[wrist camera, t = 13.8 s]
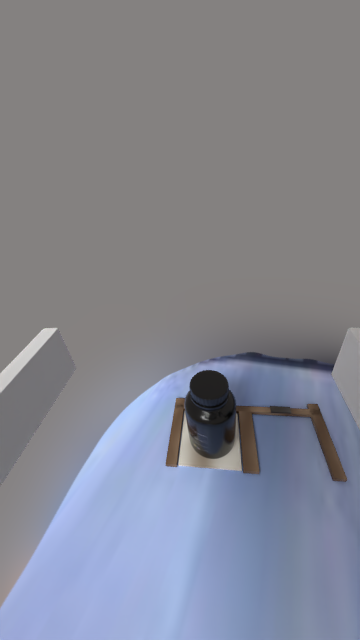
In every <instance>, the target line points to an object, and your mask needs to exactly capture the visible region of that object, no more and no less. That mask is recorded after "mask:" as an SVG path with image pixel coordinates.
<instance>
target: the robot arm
mask: <svg viewBox="0 0 360 640" xmlns="http://www.w3.org/2000/svg"><path fill="white" fill-rule="evenodd" d="M75 369H76V366H75V364H74V362H73V360H72V357H71V355H70V353H69V351H68V349H67V346H66V344H65V342H64V340H63V338H62V336H61V334H60V331H59V329H58V328H44V329H43V330H42V331H41V332H40V333H39V334H38V335H37V336H36V337H35V338H34V339H33V340H32V341H31V342H30V343H29V344H28V345H27V346H26V348H24V350H23V351H22V352H21V353H20V354H19V355H18V356H17V357H16V358H15V359H14V360H13V361H12V362H11V363H10V364H9V365H8V366H7V367H6V368H5V369H4V370H3V371H2V372H1V373H0V486H1V485H2V483H3V482H4V480H5V478H6V477H7V475H8V474H9V472H10V471H11V469H12V468H13V466H14V464H15V463H16V461H17V459H18V458H19V457H20V455H21V454H22V452H23V450H24V449H25V447H26V446H27V444H28V443H29V441H30V440H31V438H32V436H33V435H34V433H35V432H36V430H37V428H38V427H39V426H40V424H41V422H42V421H43V419H44V418H45V416H46V415H47V413H48V411H49V410H50V408H51V407H52V405H53V404H54V402H55V401H56V399H57V397H58V396H59V394H60V393H61V391H62V390H63V388H64V387H65V385H66V383H67V382H68V380H69V379H70V377H71V376H72V374H73V372H74V371H75ZM331 375H332V377H333V379H334V381H335V383H336V385H337V387H338V389H339V391H340V392H341V394H342V396H343V398H344V400H345V402H346V404H347V406H348V408H349V410H350V412H351V414H352V416H353V418H354V420H355V422H356V424H357V426H358V428H359V430H360V328H348V331H347V333H346V336H345V339H344V341H343V344H342V347H341V350H340V352H339V355H338V358H337V360H336V363H335V366H334V369H333V371H332V374H331Z"/></svg>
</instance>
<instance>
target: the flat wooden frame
mask: <svg viewBox="0 0 360 640" xmlns="http://www.w3.org/2000/svg"><path fill="white" fill-rule="evenodd" d="M184 402H185V398H176V403H175V409H174V416H173V422H172V428H171V434H170V440H169V446H168V453H167V459H166V466H171V467H177V461H178V453H179V445H180V437H181V429H182V421H183V413H184V411H185V406H184ZM307 408H308V409H295V408H290V407H278V406H270V407H253V406H236V413H239V425H240V437H241V449H242V461H243V473H251V474H259V465H258V457H257V450H256V442H255V435H254V427H253V420H252V414H261V415H280V416H300V417H311V419H312V422H313V425H314V428H315V431H316V434H317V436H318V439H319V442H320V445H321V448H322V451H323V454H324V456H325V459H326V462H327V465H328V468H329V471H330V473H331V476H332V479H333V481H343V482H346V481H347V477H346V475H345V472H344V470H343V467H342V465H341V462H340V460H339V457H338V455H337V452H336V450H335V447H334V444H333V442H332V439H331V437H330V434H329V432H328V429H327V427H326V424H325V422H324V419H323V417H322V414H321V412H320V409H319V407H318V404H307ZM178 466H189V467H200V468H212V469H223V470H235V471H242V465H241V453H240V440H239V427H238V415H237V414H236V432H235V443H234V446H233V448H232V449H231V451H230V452H229V453H228V454H227V455H225V456H224V457H222V458H218V459H208V458H205V457H203V456H201V455H199V454H198V453H197V452H196V451H195V450H194V449H193V447H192V445H191V443H190V439H189V433H188V427H187V421H186V414H185V413H184V422H183V430H182V438H181V446H180V455H179V463H178Z"/></svg>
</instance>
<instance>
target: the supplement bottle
mask: <svg viewBox="0 0 360 640" xmlns="http://www.w3.org/2000/svg"><path fill="white" fill-rule="evenodd" d="M184 406H185V414H186V421H187V427H188V433H189V439H190V443H191V445H192V447H193V449H194V450H195V451H196V452H197V453H198V454H199V455H201V456H203V457H205V458H208V459H218V458H222V457H224V456H225V455H227V454H228V453H229V452H230V451H231V449H232V448H233V446H234V443H235V432H236V400H235V397H234V395H233V394H232V392H231V391H230V390H229V386H228V382H227V379H226V377H224V375H222V374H221V373H219V372H217V371H212V370H206V371H202V372H199V373H197V374H196V375H194V377H192V379H191V382H190V391H189V392H188V393H187V395H186V398H185V402H184Z"/></svg>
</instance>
